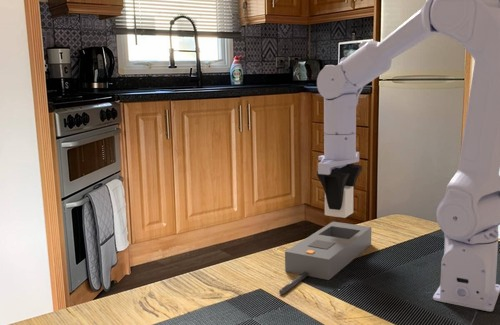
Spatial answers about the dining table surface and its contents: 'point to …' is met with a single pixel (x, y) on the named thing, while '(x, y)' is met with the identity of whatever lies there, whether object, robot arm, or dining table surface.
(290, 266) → the power strip
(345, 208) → the plug
